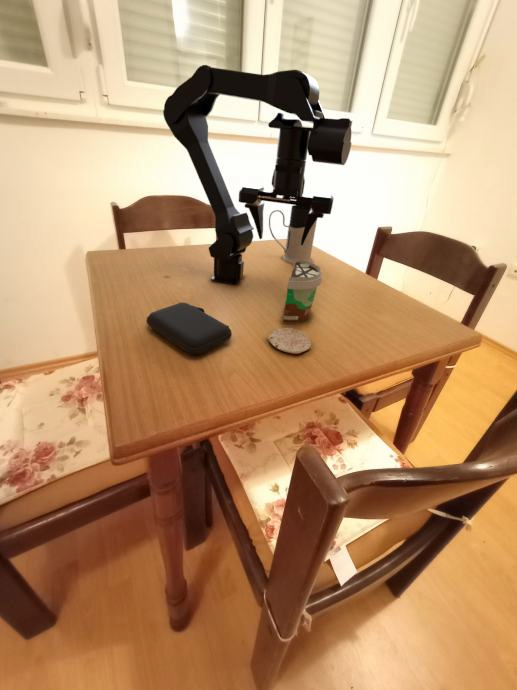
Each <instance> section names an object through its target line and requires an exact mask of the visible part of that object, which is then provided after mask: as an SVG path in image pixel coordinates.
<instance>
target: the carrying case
mask: <svg viewBox="0 0 517 690" xmlns="http://www.w3.org/2000/svg"><path fill="white" fill-rule="evenodd" d="M146 324H147V325H148V327H150V328H151V329H152V330H154V331H155V332H156V333H158V334H160V335H161V336H163V338H165V339H167V340H168V341H169V342H171V343H172V344H174V345H175V346H177V348H180V349H181V350H183V351H184V352H185V353H187V354H189V355H190V356H191V355H192V356H199V355H202V354H203V353H206V352H208V351H209V350H211V349H213V348H217V346H220V345H222V344H223V343H225V342H227V341H229V340H230V339H231V338H232V335H233V332H232V330H231V328H230V326H229V325H227V324H225V323H224V322H222V321H220V320H218V319H216V318H215V317H213V316H211V315H209V314H208V313H206V312H205V309H204V308H203V307H198V306H195V305H191V304H190V303H188V302H179V303H175V304H172V305H169V306H167V307H164V308H161V309H158V310H155V311H153V312H151V313H150V314H149V315H148V316H147V317H146Z"/></svg>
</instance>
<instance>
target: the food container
mask: <svg viewBox="0 0 517 690" xmlns="http://www.w3.org/2000/svg"><path fill="white" fill-rule="evenodd" d="M322 282H323V273H322V270H321V268H320V267H319V266H318V264H315V263H314V262H312V261H311V262H309V261H306V260H302V259H297V258H296V259H295V264H294V266H293V268H292V272H291V275H290V276H288V282H287V286H286V287H287V288H286V297H285V303H284V311H283V319H282V323H285V324H298V323H302V322H305V321H307V320H308V319H309V317H310V313H311V311H312V306H313V303H314V299H315V296H316V292H317V289H318V287H319V286H321V284H322Z"/></svg>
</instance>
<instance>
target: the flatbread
mask: <svg viewBox="0 0 517 690" xmlns="http://www.w3.org/2000/svg"><path fill="white" fill-rule="evenodd" d="M267 338H268V339H267V340H268V341H269V343H270V344H271V345H272V346H273V347H274V348H275V349H277V350H279V351H282V352H285V353H288V354H293V355H294V354H295V355H298V354H301V353H303V352H306V351H308V350H310V349H311V347H312V340H311V338H310V337H309V336H308V335H307V334H305V333H304V332H303V331H300V330H298V329H295V328H291V327H284V328H278V329H274V330H272V332H270V333H269V335H268V337H267Z"/></svg>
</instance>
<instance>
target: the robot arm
mask: <svg viewBox="0 0 517 690" xmlns="http://www.w3.org/2000/svg"><path fill="white" fill-rule="evenodd" d="M220 95H221V96H226V97H232V98H239V99H243V100H249V101H256V102H261V103H265V104H267V105H269V106H271V107H273V108H276V109H278V110H280V111H283V112H284V113H282V112H278V113H276V116H274V118H273V119H272V120H270V121H269V122H268V125H267V126H268V128H270V129H277V130H278V136H277V147H276V159H275V165H274V170H273V173H272V176H271V177H272V178H271V186H272V191H267V190H265V188H264V186H263V185H254V184H245V185H243V186H241V188H240V189H239V192H238V202H239V203H241V204H242V203H243V204H244V208H246V209H248V210H249V212H250V215H251V217H252V219H253V223H254V225H255V228H254V227H253V225H252V223H251V222H250V218H249V214H248V213H247V212H246V211H245V212H240V211H238V209H237V208H236V207H235V204H234V202H233V200H232V197H231V194H230V192H229V190H228V188H227V185H226V183H225V180H224V176H223V175H222V172H221V170H220V167H219V166H218V163H217V160H216V158H215V155H214V153H213V151H212V150H213V149H212V148H211V146H210V145H211V144H210V142H209V124H208V120H207V117H208V116H209V115H210V114H211V113H212V111H213V109H214V106H215V104H216V102H217V99H218V97H219V96H220ZM285 113H287V114H290V115H294V116H296V117H298V118H287V117H286V116H285ZM162 115H163V118H164V121H165V123H166V125H167V127H168V128H169V130H170V132H171V134H172V135H173V137H174V138H175V140H177V141H178V142H179V143H180V144H181V145H182V146H183V147H184V149H185V150H186V152H187V153H188V156H189V159H190V161H191V162H192V165H193V167H194V169H195V172H196V174H197V177H198V179H199V182H200V184H201V186H202V188H203V191H204V193H205V195H206V197H207V200H208V202H209V204H210V207H211V209H212V212H213V214H214V218H215V219H214V220H215V221H214V223H215V224H214V231H215V235H216V238H217V239H216V240H215V241H214V242H213V243H212V244H211V245H210V246H209V247H208V252H209V255H210V257H211V258H213V276H212V277H211V281H213V282H217V283H223V284H224V283H225V284H230V285H237V284H238V283H239V282H240V281H241V280H242V279H243V277H244V268H245V267H244V265H245V261H244V260H243V254H244V253H245V252H246V250H247V248H248V247H249V246H251V244H252V242H253V239H254V233H253V230H254V229H256V232H257V235H258V239H259V240H262V239H263V236H264V235H263V234H264V209H265V207H264V206H265V202H270V203H277V204H284V205H285V204H286V205H292V206H293V205H300V206H307V207H311V210H310V212H309V214H308V217H307V221H306V225H305V228H304V232H303V236H302V240H301V245H303V243H304V241H305V239H306V237H307V235H308V233H309V231H310V229H311V227H312V226H313V224H314V223H315V221H316V220H317V221H318V219H323V218H324V215H331V213H332V209H333V204H334V200H335V199H334V197H333V195H332V194H327V193H319V192H318V193H317V192H315V193H314V194H313V196H309V195H304V190H305V185H306V183H305V182H306V181H305V180H306V179H305V171H306V164H307V156H311V160H312V162H314V163H321V164H330V165H338V166H345V165H346V163H347V161H348V158H349V156H350V152H351V148H352V125H353V120H352V119H351V118H348V117H346V118H345V117H341V118H326V115H325V112H324V109H323V108H322V105H321V103H320V88H319V85H318V82H317V81H316V79H315V78H313V77H312V76H310V75H309V74H307V73H305V72H303V71H301V70H299V69H289V70H288V69H287V70H279V71H275V72H272V73H268V74H261V73H252V72H247V71H240V70H239V71H238V70H232V69H225V68H219V67H213V66H211V65H207V64H202V65H200V66H199V67H198V68H197V69H196V70H195V71H194V73H193V74H192V76H190V77H188V79H187V80H185V81H183V82H182V83H181V84H180V85H179V86H177V87H176V88H175V90H174V91H173V93H171V94H170V95H169V96H168V97H167V98H166V99H165V102H164V106H163V110H162ZM302 122H306V123H309V124H312V127H307V126H303V123H302ZM278 196H279V197H278ZM280 196H281V197H280Z"/></svg>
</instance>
